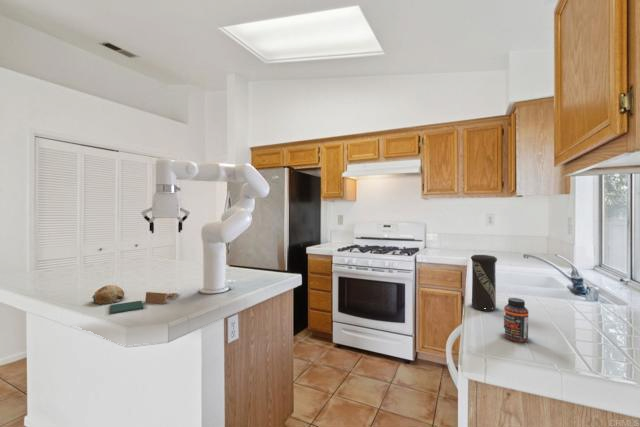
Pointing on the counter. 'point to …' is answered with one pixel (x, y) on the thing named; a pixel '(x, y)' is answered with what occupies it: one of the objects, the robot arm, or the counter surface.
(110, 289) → the bread roll
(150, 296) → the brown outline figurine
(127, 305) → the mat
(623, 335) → the counter surface
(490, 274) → the container
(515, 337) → the supplement bottle
